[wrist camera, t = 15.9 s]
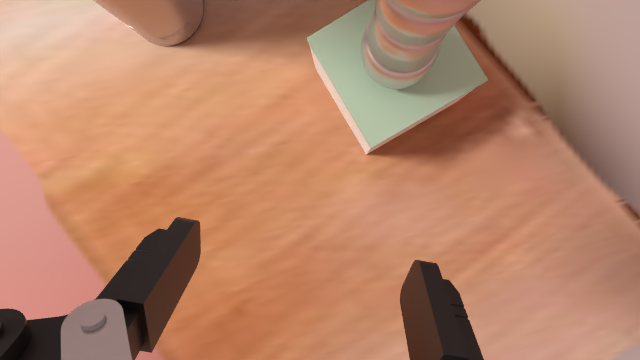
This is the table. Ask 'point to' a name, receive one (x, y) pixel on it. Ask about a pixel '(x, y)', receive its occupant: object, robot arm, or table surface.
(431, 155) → the table surface
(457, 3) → the plastic bottle
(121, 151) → the table surface
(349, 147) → the table surface
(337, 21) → the raised stand
